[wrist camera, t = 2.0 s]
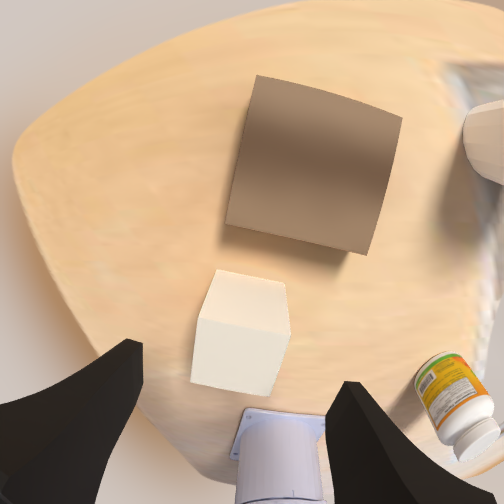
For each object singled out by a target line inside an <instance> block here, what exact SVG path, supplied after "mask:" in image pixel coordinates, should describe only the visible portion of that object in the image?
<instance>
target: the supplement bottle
mask: <svg viewBox="0 0 504 504" xmlns="http://www.w3.org/2000/svg"><path fill="white" fill-rule="evenodd" d="M414 387H415V390H416V392H417V395H418V397H419V399H420V401H421V403H422V405H423V407H424V409H425V411H426V413H427V415H428V417H429V419H430V421H431V423H432V425H433V427H434V430H435V432H436V434H437V436H438V438H439V440H440V441H441V443H443V444H444V445H448V446H453V445H454V446H453V450H454V454H455V455H456V457H457V459H458V461H459V462H466V461H469V460H471V459H473V458H475V457H477V456H478V455H480V454H481V453H483V452H484V451H485V450H487V449H488V448H489V447H490V446H491V445H492V444H493V443H494V442H495V441H496V439H497V438H498V437H499V435H500V432H501V430H500V428H499V426H498V424H497V423H496V421H495V419H494V418H491V416H492V414H493V411H494V402H493V400H492V398H491V397H490V395H489V394H488V392H487V391H486V389H485V388H484V387H483V385H482V384H481V382H480V381H479V379H478V378H477V377H476V375H475V374H474V373H473V371H472V370H471V368H470V367H469V366H468V364H467V363H466V362H465V360H464V359H463V358H462V357H461V356H460V354H458V353H457V352H454V351H446V352H443V353H440V354H438V355H436V356H435V357H433V358H432V359H430V360H429V361H428V362H427V363H426V364H425V365H424V366H423V367H422V368H421V369H420V371H419V372H418V374H417V376H416V378H415V382H414Z"/></svg>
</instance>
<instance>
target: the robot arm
mask: <svg viewBox="0 0 504 504" xmlns="http://www.w3.org/2000/svg"><path fill="white" fill-rule="evenodd" d="M142 386H143V343H141V342H137V341H134V340H131V339H125V340H123V341H122V342H121V343H119V344H118V345H116V346H115V347H114V348H112V349H111V350H109V351H108V352H106V353H105V354H104V355H102V356H101V357H99V358H98V359H96V360H95V361H93V362H92V363H90V364H89V365H87V366H86V367H84V368H83V369H81V370H80V371H78V372H76V373H74V374H73V375H71V376H69V377H68V378H66V379H64V380H62V381H61V382H59V383H57V384H55V385H53V386H51V387H49V388H47V389H45V390H42V391H40V392H37V393H35V394H32V395H29V396H26V397H24V398H21V399H18V400H15V401H12V402H8V403H4V404H0V504H95V500H96V496H97V493H98V490H99V486H100V483H101V480H102V477H103V474H104V471H105V468H106V465H107V462H108V459H109V457H110V455H111V453H112V450H113V448H114V446H115V444H116V442H117V440H118V438H119V436H120V435H121V433H122V430H123V429H124V427H125V425H126V423H127V421H128V419H129V417H130V415H131V413H132V411H133V409H134V407H135V405H136V402H137V399H138V397H139V394H140V391H141V388H142ZM324 431H325V435H326V445H327V451H328V457H329V463H330V469H331V475H332V481H333V487H334V498H335V504H497V502H496V500H495V497H494V495H493V494H492V493H490V492H487V491H485V490H482V489H479V488H477V487H475V486H472V485H470V484H468V483H467V482H465V481H463V480H461V479H459V478H457V477H456V476H454V475H452V474H451V473H449V472H448V471H446V470H445V469H443V468H442V467H440V466H439V465H438V464H436V463H435V462H434V461H432V460H431V459H430V458H429V457H427V456H426V455H425V454H424V453H423V452H422V451H420V450H419V449H418V448H417V447H416V446H415V445H414V444H413V443H412V442H411V441H410V440H409V439H408V438H407V437H406V436H405V435H404V434H403V433H402V432H401V431H400V430H399V429H398V427H397V426H396V425H395V424H394V423H393V422H392V421H391V419H390V418H389V417H388V416H387V415H386V413H385V412H384V411H383V410H382V409H381V407H380V406H379V405H378V404H377V403H376V401H375V400H374V399H373V398H372V396H371V395H370V394H369V393H368V391H367V390H366V389H365V388H364V387H363V386H362V384H361V383H360V382H350V381H344V383H343V385H342V387H341V389H340V391H339V393H338V394H337V396H336V398H335V400H334V402H333V403H332V405H331V407H330V409H329V410H328V412H327V414H326V416H319V415H306V414H295V413H286V412H277V411H270V410H262V409H255V408H246V409H245V410H244V413H243V416H242V419H241V423H240V426H239V429H238V432H237V435H236V438H235V441H234V444H233V447H232V450H231V453H230V459H232V460H237V461H239V464H238V474H237V484H236V495H235V504H327V501H326V500H323V490H322V481H321V473H320V464H319V456H318V448H317V442H318V440H319V438H320V437H321V435H322V434H323V432H324Z"/></svg>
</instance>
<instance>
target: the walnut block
mask: <svg viewBox="0 0 504 504" xmlns="http://www.w3.org/2000/svg"><path fill="white" fill-rule="evenodd" d="M401 123H402V117H399V116H397V115H394V114H392V113H389V112H386V111H384V110H381V109H379V108H376V107H373V106H370V105H367V104H365V103H362V102H359V101H356V100H353V99H350V98H347V97H343V96H340V95H337V94H334V93H330V92H327V91H323V90H320V89H316V88H312V87H308V86H304V85H300V84H296V83H292V82H288V81H283V80H279V79H274V78H269V77H264V76H259V75H256V79H255V84H254V88H253V92H252V97H251V101H250V105H249V110H248V114H247V119H246V123H245V128H244V132H243V137H242V142H241V146H240V151H239V156H238V160H237V165H236V170H235V175H234V180H233V185H232V190H231V195H230V200H229V205H228V210H227V215H226V220H225V224H227V225H232V226H237V227H242V228H246V229H251V230H256V231H260V232H265V233H269V234H274V235H279V236H283V237H288V238H292V239H297V240H301V241H306V242H310V243H314V244H319V245H323V246H328V247H332V248H336V249H341V250H345V251H349V252H353V253H358V254H362V255H366V256H367V253H368V250H369V247H370V244H371V240H372V237H373V234H374V231H375V228H376V224H377V221H378V218H379V214H380V211H381V207H382V204H383V200H384V196H385V193H386V189H387V185H388V181H389V177H390V173H391V169H392V165H393V161H394V156H395V152H396V147H397V143H398V138H399V133H400V128H401Z"/></svg>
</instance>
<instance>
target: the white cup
mask: <svg viewBox="0 0 504 504" xmlns="http://www.w3.org/2000/svg"><path fill="white" fill-rule="evenodd" d="M463 144H464V148H465V152H466V156H467V158H468V160H469V162H470V164H471V165H472V167H473V169H474V170H475V171H476V172H477V173H479V174H480V175H481V176H482V177H484V178H487V179H489V180H492V181H494V182H497V183H499V184H501V185H504V99H503V100H499V101H495V102H491V103H487V104H483V105H479V106H476V107H473V108H472V110H471V111H470V112H469V113H468V114H467V116H466V119H465V123H464V126H463Z"/></svg>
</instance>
